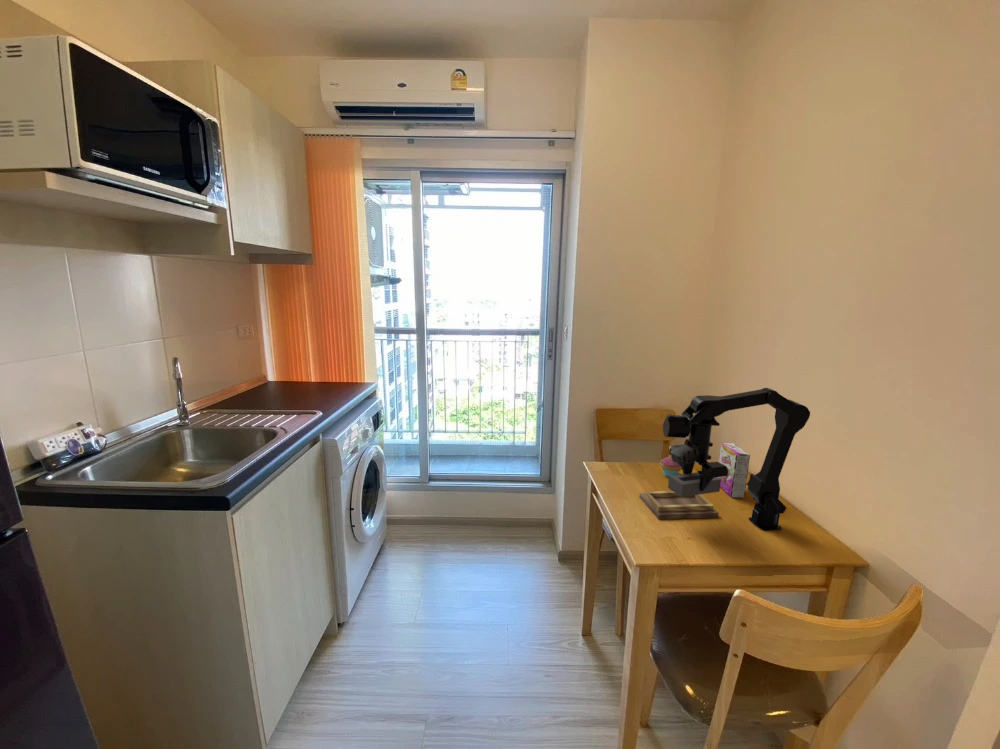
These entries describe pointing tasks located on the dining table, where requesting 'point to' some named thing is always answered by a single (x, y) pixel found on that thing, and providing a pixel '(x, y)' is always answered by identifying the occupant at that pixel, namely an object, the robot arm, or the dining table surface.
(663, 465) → the cupcake
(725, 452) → the candy bar box
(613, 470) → the dining table surface
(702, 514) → the walnut board
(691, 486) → the dark gray frame
